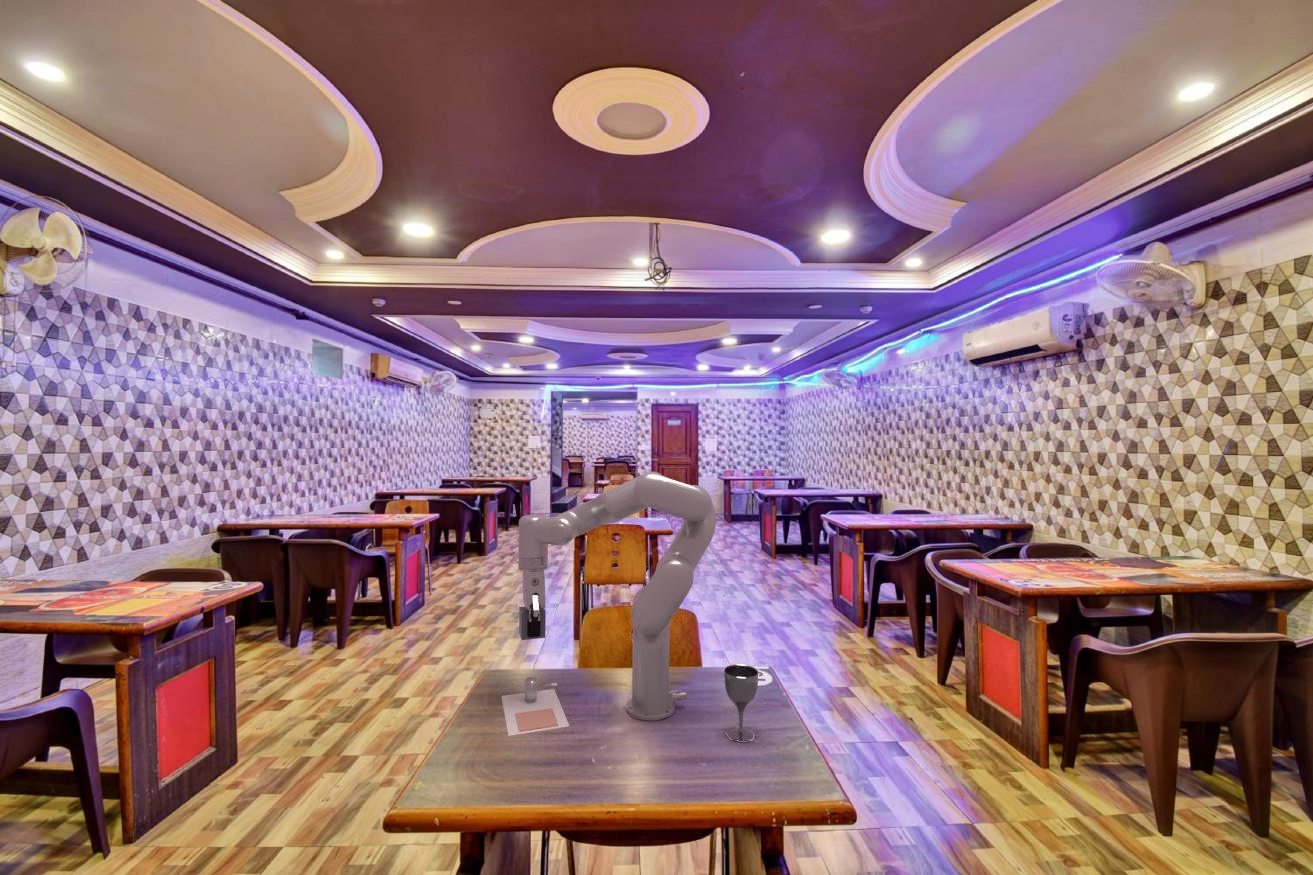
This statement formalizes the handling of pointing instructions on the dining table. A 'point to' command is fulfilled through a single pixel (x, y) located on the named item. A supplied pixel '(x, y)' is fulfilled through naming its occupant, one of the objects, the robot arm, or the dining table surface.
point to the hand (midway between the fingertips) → (532, 631)
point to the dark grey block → (524, 623)
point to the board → (533, 713)
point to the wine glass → (740, 695)
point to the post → (530, 690)
